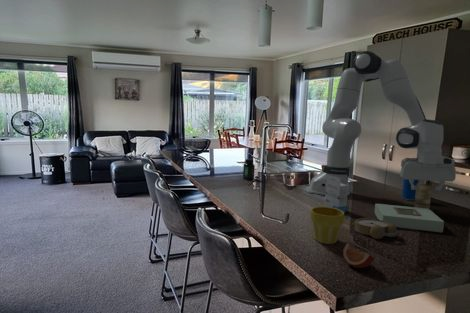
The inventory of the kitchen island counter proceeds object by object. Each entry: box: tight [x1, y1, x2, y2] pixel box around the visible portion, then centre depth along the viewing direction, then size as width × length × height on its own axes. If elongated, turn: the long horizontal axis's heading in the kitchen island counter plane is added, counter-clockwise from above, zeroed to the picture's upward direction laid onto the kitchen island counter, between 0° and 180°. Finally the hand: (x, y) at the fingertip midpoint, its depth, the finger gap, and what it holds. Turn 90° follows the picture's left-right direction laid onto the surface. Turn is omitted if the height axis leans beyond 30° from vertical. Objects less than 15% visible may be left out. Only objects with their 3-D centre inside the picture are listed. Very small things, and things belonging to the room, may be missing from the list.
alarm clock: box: [351, 217, 398, 240], centre depth 107 cm, size 11×5×15 cm
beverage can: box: [401, 179, 420, 202], centre depth 154 cm, size 6×6×12 cm
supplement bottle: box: [242, 158, 256, 181], centre depth 189 cm, size 7×7×12 cm
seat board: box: [374, 203, 445, 233], centre depth 120 cm, size 20×16×4 cm
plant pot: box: [310, 206, 345, 245], centre depth 100 cm, size 10×10×10 cm
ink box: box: [324, 175, 349, 213], centre depth 132 cm, size 8×5×15 cm, turn 26°
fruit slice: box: [342, 242, 375, 269], centre depth 84 cm, size 8×7×5 cm
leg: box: [413, 183, 433, 210], centre depth 133 cm, size 5×5×12 cm
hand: (425, 190), depth 133 cm, fingers open, 8 cm apart
